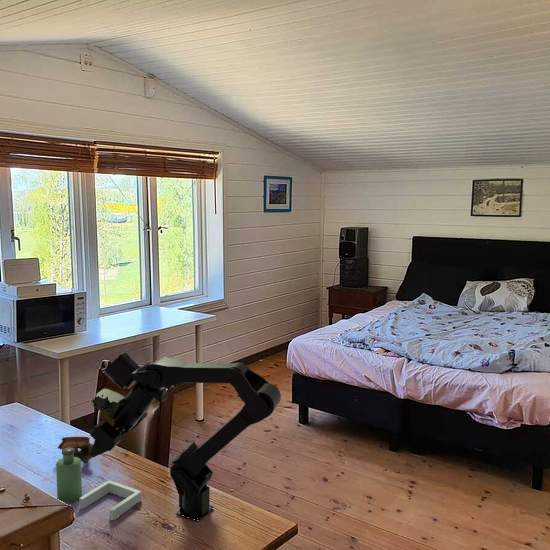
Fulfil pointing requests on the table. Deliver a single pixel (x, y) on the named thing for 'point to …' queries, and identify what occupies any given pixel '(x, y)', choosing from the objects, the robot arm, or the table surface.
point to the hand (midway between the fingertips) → (101, 447)
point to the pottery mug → (78, 443)
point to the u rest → (115, 488)
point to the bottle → (69, 477)
